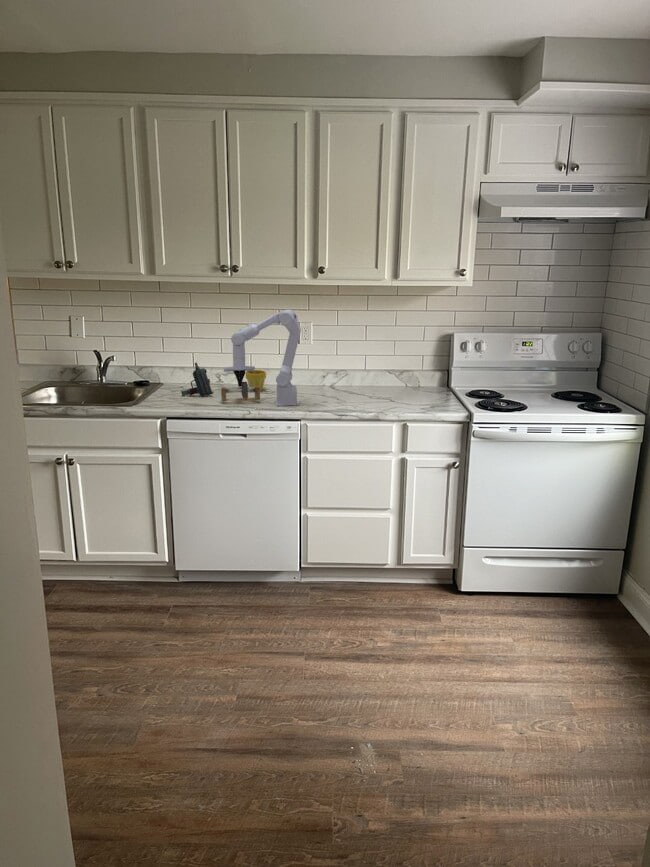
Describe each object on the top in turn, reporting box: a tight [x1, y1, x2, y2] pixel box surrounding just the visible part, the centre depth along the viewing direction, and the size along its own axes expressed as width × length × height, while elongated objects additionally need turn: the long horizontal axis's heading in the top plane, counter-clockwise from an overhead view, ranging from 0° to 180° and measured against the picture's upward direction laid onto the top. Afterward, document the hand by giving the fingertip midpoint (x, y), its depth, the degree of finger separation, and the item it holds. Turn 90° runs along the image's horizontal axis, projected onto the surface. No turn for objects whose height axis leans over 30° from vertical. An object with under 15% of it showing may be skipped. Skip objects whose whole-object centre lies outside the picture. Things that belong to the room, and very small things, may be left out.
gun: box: [180, 362, 214, 398], centre depth 313 cm, size 3×17×15 cm
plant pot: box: [245, 369, 267, 392], centre depth 328 cm, size 10×10×10 cm
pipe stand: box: [220, 386, 261, 405], centre depth 305 cm, size 18×6×7 cm, turn 102°
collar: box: [241, 381, 249, 398], centre depth 304 cm, size 2×6×6 cm, turn 12°
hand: (239, 386), depth 303 cm, fingers closed
